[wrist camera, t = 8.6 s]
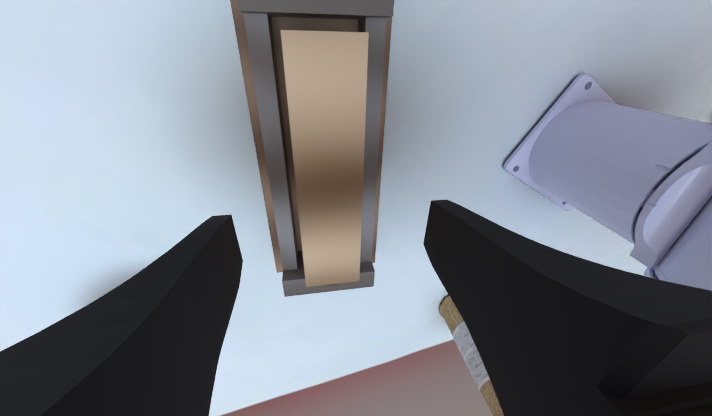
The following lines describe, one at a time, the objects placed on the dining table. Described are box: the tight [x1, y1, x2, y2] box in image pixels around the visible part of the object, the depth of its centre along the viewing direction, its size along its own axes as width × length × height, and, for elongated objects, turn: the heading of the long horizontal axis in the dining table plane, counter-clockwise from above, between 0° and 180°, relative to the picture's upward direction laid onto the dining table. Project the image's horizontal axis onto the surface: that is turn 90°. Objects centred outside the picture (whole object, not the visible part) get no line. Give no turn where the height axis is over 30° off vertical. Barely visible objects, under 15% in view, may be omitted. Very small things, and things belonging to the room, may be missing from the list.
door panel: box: [281, 30, 369, 287], centre depth 15 cm, size 13×3×6 cm, turn 179°
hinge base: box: [230, 0, 394, 296], centre depth 17 cm, size 20×8×4 cm, turn 179°
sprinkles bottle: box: [439, 296, 504, 416], centre depth 25 cm, size 5×5×13 cm
